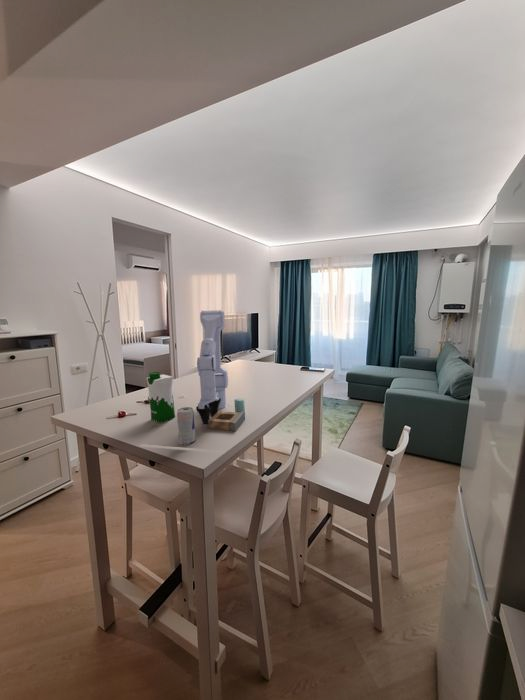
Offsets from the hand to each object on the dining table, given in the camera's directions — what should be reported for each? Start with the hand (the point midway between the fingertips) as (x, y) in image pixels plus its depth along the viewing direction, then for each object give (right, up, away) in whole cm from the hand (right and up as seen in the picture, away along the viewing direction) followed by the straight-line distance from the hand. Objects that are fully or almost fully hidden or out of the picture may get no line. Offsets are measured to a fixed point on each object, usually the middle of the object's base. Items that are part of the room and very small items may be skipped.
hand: (210, 420), depth 118 cm
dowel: (+11, 0, +9) cm, 14 cm away
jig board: (+3, -2, 0) cm, 3 cm away
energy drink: (-5, -5, -15) cm, 16 cm away
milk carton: (-21, -2, +9) cm, 23 cm away
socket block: (+6, -1, -1) cm, 6 cm away
